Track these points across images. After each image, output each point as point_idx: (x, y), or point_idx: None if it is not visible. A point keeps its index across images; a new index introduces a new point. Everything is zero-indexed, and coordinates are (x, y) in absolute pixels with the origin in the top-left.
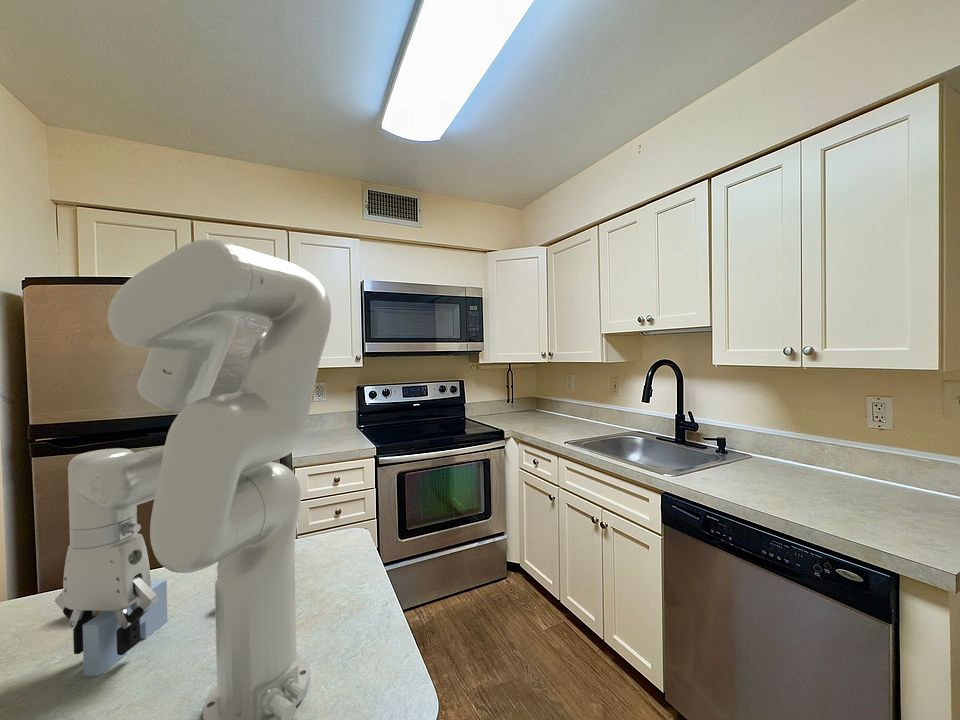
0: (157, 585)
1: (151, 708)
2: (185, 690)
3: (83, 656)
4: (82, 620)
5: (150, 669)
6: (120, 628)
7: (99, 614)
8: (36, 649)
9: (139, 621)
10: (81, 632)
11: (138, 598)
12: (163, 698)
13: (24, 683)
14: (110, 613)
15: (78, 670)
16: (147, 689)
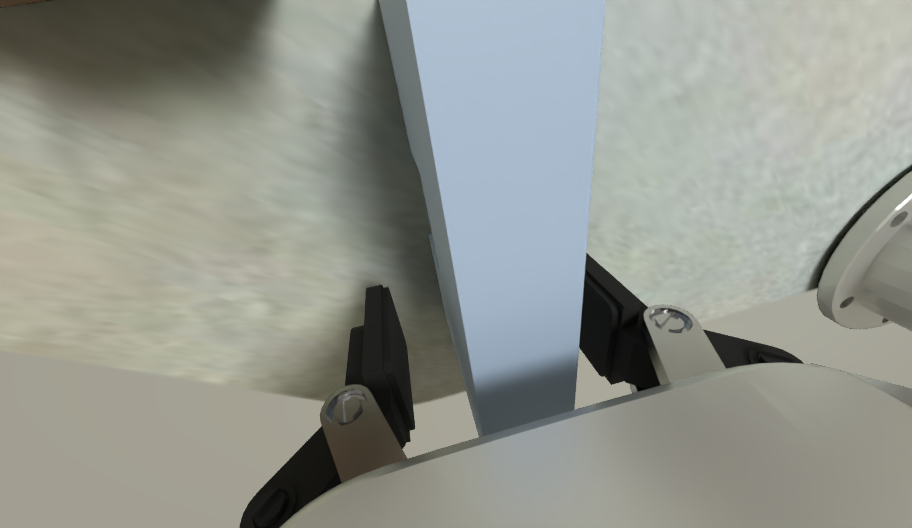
0: (601, 37)
1: (702, 317)
2: (753, 267)
3: (457, 358)
4: (403, 446)
5: (622, 246)
6: (620, 377)
7: (483, 431)
8: (54, 301)
9: (620, 284)
10: (410, 403)
11: (582, 269)
12: (714, 295)
13: (302, 375)
14: (545, 411)
15: (401, 308)
16: (662, 291)
